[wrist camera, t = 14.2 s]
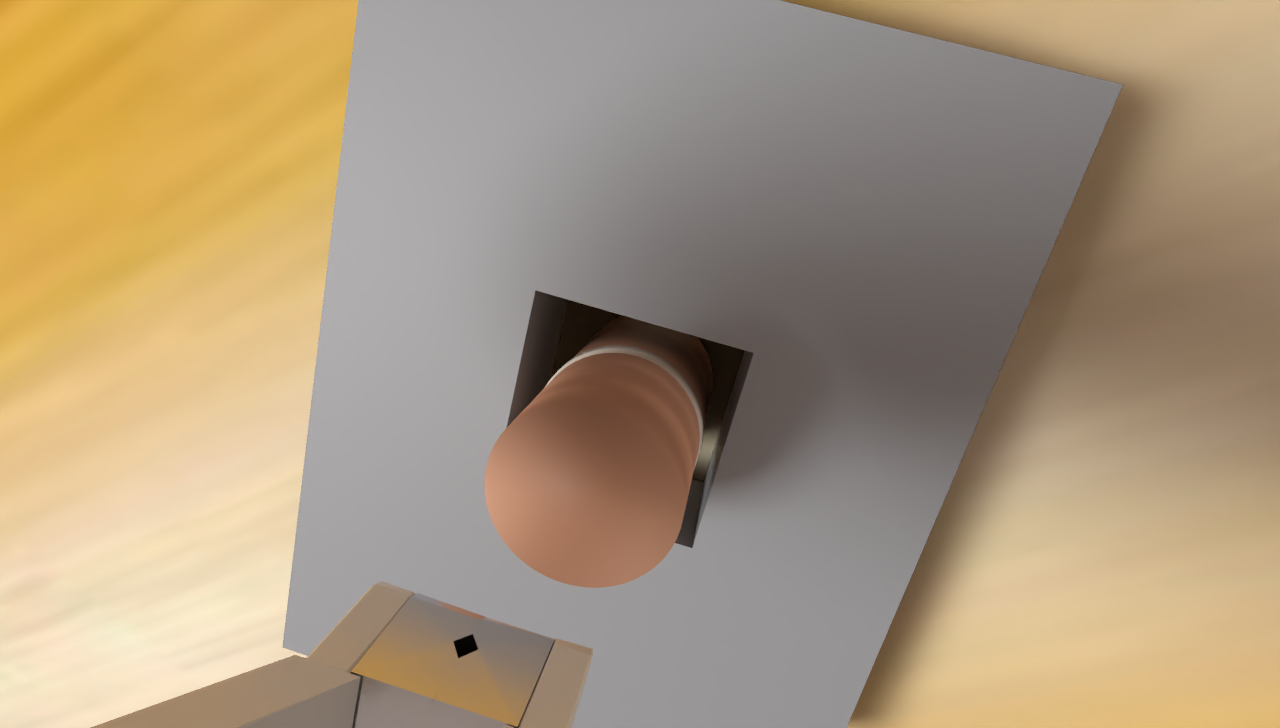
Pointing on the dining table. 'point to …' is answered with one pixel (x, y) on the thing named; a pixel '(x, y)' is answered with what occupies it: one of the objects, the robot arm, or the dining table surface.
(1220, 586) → the dining table surface
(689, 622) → the gray board
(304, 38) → the dining table surface
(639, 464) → the terracotta peg
